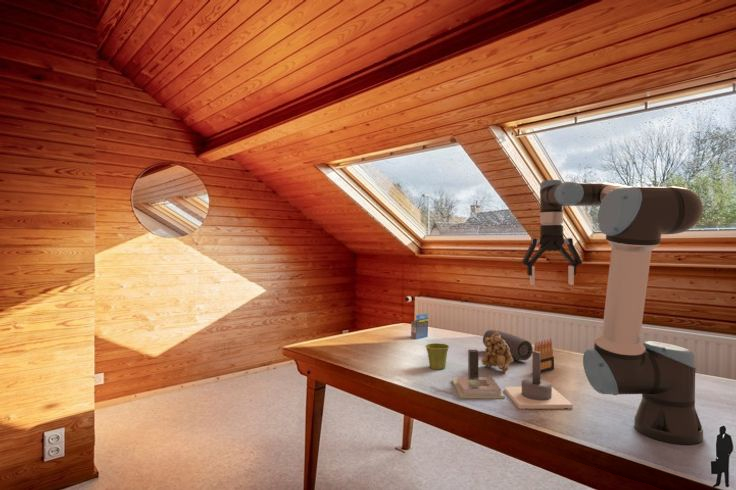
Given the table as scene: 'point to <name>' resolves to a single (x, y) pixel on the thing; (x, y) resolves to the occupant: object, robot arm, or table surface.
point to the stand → (537, 391)
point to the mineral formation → (497, 352)
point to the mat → (474, 395)
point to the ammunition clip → (545, 355)
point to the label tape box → (419, 327)
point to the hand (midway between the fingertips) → (551, 284)
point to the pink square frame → (476, 379)
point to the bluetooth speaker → (514, 345)
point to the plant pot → (437, 355)
